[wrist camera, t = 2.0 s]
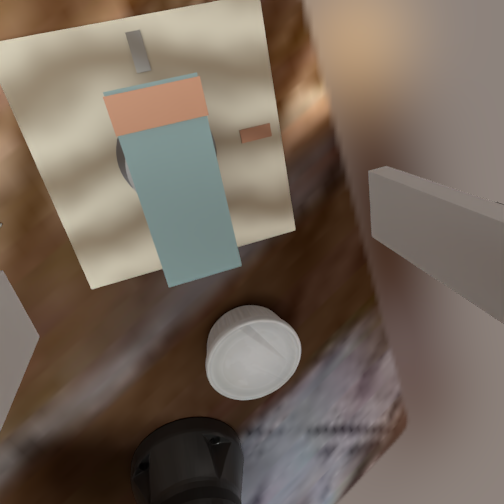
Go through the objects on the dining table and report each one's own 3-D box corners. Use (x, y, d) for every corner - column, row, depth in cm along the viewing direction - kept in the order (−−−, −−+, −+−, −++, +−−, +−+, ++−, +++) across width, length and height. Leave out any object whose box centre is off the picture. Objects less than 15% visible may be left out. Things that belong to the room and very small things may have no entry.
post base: (289, 224, 43) (296, 231, 41) (93, 280, 40) (91, 290, 38) (252, -2, 34) (260, -8, 32) (-8, 47, 30) (-19, 43, 28)
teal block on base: (220, 206, 38) (257, 264, 25) (150, 225, 37) (154, 295, 24) (188, 75, 32) (216, 68, 20) (105, 93, 31) (82, 96, 19)
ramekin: (297, 300, 48) (313, 323, 43) (274, 372, 51) (287, 400, 47) (210, 292, 44) (218, 316, 40) (192, 370, 48) (198, 401, 43)
